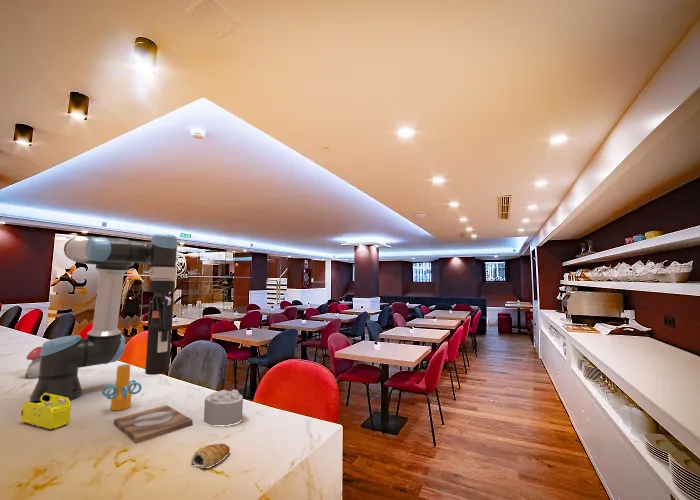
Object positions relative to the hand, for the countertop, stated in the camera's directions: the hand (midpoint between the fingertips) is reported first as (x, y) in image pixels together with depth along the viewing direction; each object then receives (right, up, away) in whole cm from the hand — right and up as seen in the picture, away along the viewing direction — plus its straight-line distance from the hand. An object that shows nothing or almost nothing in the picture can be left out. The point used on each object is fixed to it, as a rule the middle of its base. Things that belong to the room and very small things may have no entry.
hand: (157, 350), depth 108 cm
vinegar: (0, -7, 0) cm, 7 cm away
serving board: (0, -23, -2) cm, 23 cm away
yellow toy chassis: (-35, -23, -2) cm, 42 cm away
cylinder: (-20, -25, +11) cm, 34 cm away
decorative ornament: (-87, -28, +49) cm, 104 cm away
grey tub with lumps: (+21, -24, +2) cm, 32 cm away
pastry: (+27, -22, -23) cm, 42 cm away
